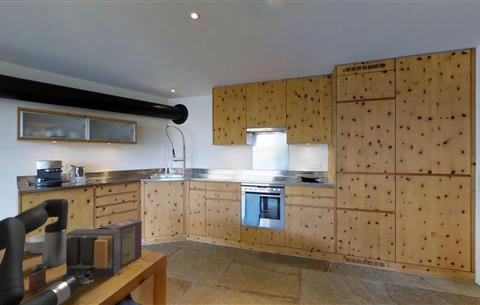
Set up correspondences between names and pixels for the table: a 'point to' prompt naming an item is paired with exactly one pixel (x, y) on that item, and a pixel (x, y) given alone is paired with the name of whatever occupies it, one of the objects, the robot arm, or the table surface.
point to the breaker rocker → (100, 253)
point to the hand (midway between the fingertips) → (93, 269)
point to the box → (129, 239)
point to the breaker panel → (92, 250)
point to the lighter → (37, 278)
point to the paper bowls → (35, 244)
